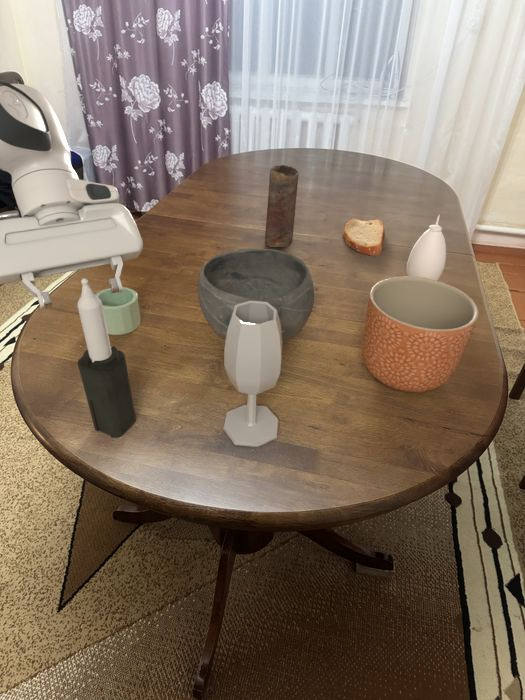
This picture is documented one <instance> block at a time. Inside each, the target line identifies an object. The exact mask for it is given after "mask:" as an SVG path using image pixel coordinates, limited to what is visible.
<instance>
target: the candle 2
mask: <svg viewBox="0 0 525 700" xmlns="http://www.w3.org/2000/svg"><path fill="white" fill-rule="evenodd" d="M299 176H300V173H299V171H298V169H296V168H295V167H293V166H289V165H285V164H280V165H274V166H273V167H271V168H270V170H269V180H268V195H267V207H266V220H265V233H264V244H265V245H266V246H268V248H278V249H286V248H288V247H289V246H291V245H292V243H293V236H294V227H295V216H296V215H295V214H296V207H297V206H296V205H297V195H298V186H299V185H298V184H299Z"/></svg>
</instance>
